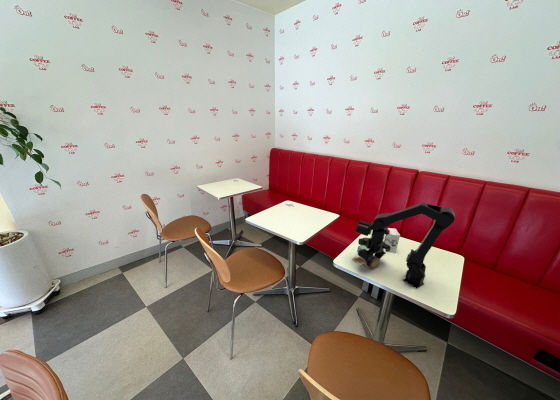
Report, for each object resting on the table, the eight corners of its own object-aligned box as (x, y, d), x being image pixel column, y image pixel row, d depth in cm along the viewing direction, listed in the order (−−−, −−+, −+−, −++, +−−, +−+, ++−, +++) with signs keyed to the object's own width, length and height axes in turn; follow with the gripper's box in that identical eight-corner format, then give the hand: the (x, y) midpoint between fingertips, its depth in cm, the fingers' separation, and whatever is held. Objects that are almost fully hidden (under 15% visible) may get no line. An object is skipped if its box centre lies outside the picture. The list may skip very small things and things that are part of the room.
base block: (372, 254, 124) (373, 249, 122) (365, 257, 121) (366, 251, 120) (364, 249, 129) (365, 243, 127) (357, 251, 126) (358, 246, 124)
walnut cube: (378, 267, 113) (380, 259, 111) (371, 270, 111) (373, 262, 109) (370, 261, 117) (371, 254, 115) (364, 264, 115) (365, 256, 113)
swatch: (367, 262, 117) (367, 261, 117) (360, 265, 114) (360, 264, 114) (358, 256, 122) (359, 255, 121) (351, 259, 119) (351, 258, 119)
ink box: (382, 244, 134) (386, 227, 130) (390, 244, 134) (395, 228, 130) (387, 252, 126) (391, 234, 122) (396, 252, 126) (400, 235, 122)
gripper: (375, 227, 119) (370, 251, 124) (351, 235, 110) (347, 260, 116) (394, 237, 110) (387, 262, 116) (369, 246, 101) (364, 273, 107)
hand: (371, 264), depth 114 cm, fingers closed on walnut cube, 5 cm apart
